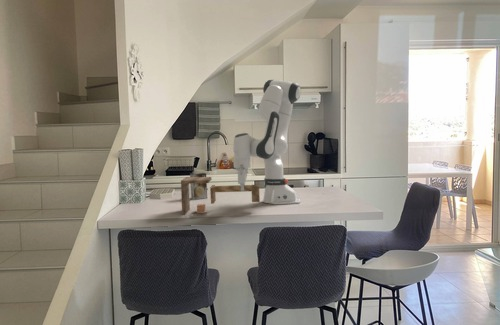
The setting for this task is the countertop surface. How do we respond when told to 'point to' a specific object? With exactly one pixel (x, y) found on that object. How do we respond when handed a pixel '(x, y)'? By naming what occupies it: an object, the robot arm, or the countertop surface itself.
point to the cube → (201, 208)
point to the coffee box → (198, 187)
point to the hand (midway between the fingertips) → (242, 189)
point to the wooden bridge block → (235, 189)
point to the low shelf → (185, 190)
